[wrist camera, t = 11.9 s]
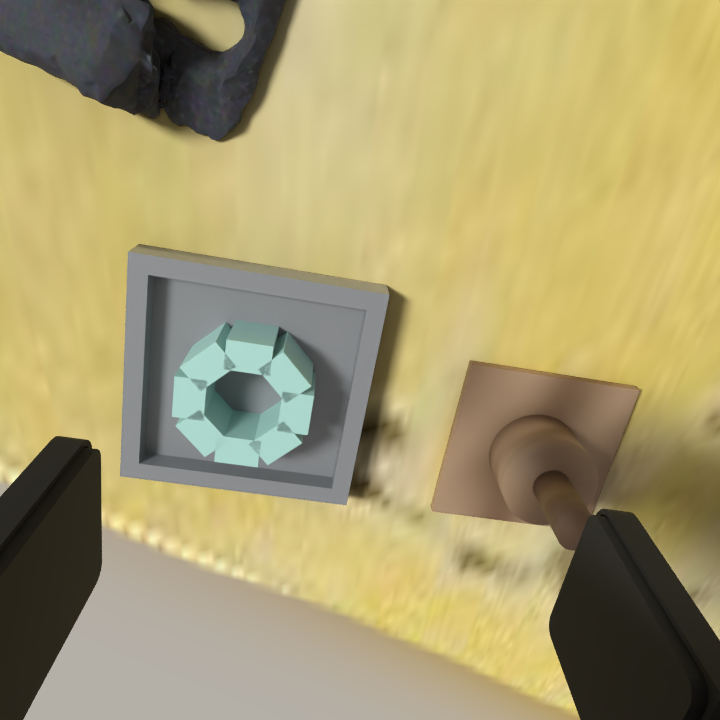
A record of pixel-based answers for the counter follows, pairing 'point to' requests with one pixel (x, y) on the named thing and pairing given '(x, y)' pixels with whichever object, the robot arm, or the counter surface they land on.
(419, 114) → the counter surface
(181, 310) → the tray
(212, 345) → the ring
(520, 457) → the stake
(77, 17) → the dark slate chunk
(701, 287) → the counter surface
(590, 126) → the counter surface
